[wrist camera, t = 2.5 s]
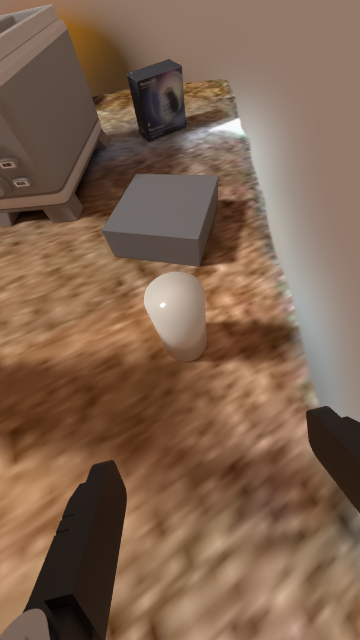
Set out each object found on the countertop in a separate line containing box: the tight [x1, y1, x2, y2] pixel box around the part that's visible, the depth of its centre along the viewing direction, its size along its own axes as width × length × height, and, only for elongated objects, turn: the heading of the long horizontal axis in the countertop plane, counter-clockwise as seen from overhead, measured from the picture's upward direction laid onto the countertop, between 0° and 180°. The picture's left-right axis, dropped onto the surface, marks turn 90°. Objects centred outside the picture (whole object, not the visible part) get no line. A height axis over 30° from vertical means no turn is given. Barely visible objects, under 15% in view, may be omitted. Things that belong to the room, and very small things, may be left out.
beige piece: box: [144, 272, 207, 362], centre depth 22 cm, size 5×5×10 cm
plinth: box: [102, 174, 218, 267], centre depth 34 cm, size 14×14×5 cm
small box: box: [127, 59, 186, 141], centre depth 50 cm, size 11×6×10 cm, turn 118°
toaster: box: [0, 4, 110, 227], centre depth 40 cm, size 19×34×20 cm, turn 177°
